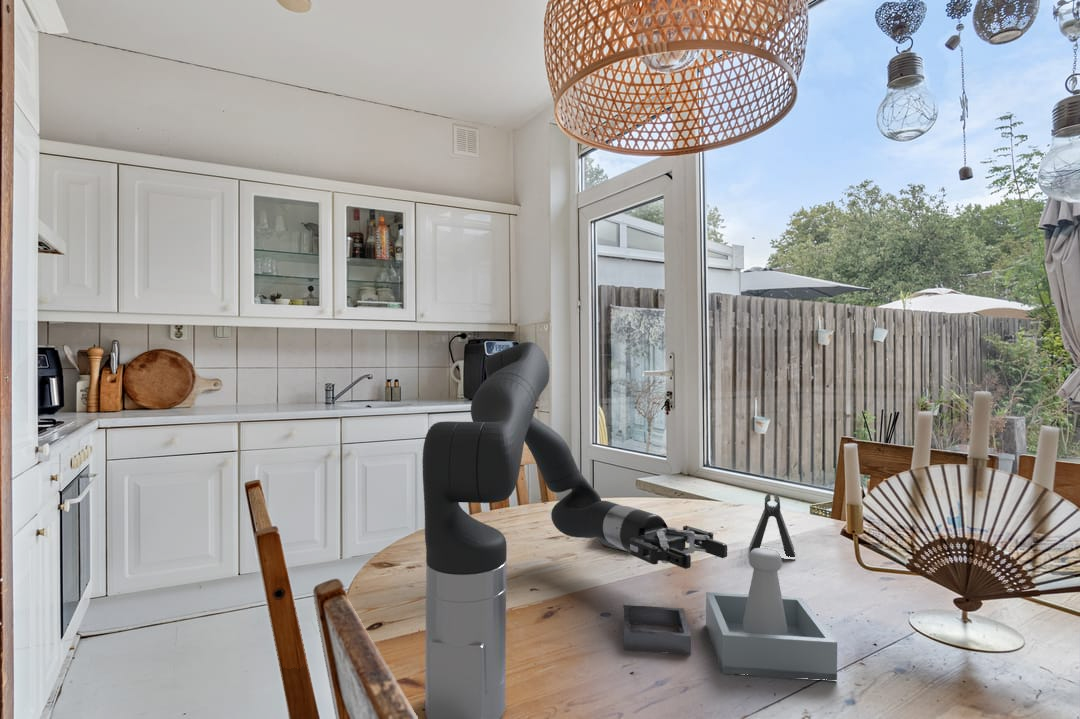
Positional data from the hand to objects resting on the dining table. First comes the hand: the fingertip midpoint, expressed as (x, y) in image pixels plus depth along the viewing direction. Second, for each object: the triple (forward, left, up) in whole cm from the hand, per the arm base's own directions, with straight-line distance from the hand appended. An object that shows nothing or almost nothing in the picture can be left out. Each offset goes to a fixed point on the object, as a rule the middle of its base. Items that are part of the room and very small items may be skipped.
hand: (708, 556), depth 90 cm
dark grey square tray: (-5, +8, -10) cm, 14 cm away
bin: (-7, -7, -10) cm, 14 cm away
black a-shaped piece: (+36, -19, -11) cm, 41 cm away
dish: (+39, +11, -11) cm, 42 cm away
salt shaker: (-7, -7, -9) cm, 14 cm away
